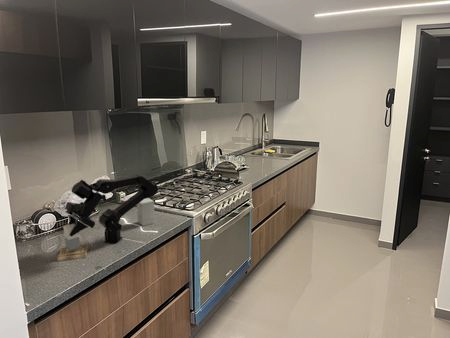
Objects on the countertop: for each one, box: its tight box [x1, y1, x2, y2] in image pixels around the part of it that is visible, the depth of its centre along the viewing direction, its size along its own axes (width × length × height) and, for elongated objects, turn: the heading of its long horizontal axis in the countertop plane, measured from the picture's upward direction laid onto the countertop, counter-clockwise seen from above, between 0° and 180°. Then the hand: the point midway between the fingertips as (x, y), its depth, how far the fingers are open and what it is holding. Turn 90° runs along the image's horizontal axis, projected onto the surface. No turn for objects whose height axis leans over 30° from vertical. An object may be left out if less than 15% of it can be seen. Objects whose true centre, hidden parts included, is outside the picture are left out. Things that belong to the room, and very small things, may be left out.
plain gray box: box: [63, 223, 81, 250], centre depth 149 cm, size 4×4×10 cm
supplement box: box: [136, 197, 156, 227], centre depth 185 cm, size 7×7×13 cm
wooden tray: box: [57, 243, 89, 262], centre depth 151 cm, size 11×11×2 cm
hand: (68, 234), depth 148 cm, fingers closed on plain gray box, 4 cm apart
